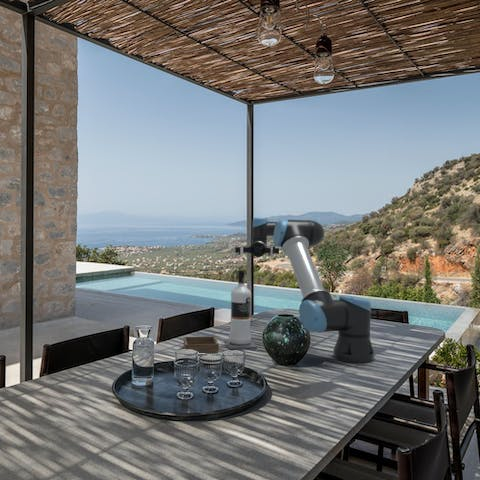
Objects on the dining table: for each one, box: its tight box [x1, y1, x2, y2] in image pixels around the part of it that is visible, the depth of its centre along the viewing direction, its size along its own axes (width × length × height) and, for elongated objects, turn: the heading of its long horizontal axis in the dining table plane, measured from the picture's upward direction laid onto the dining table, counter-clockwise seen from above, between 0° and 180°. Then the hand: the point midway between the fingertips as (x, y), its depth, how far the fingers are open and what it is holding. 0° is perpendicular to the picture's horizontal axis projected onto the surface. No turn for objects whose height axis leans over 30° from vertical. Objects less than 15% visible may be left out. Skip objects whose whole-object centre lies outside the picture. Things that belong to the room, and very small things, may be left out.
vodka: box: [228, 269, 252, 345], centre depth 191 cm, size 9×9×30 cm
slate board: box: [224, 338, 258, 351], centre depth 191 cm, size 14×11×1 cm
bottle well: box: [182, 335, 220, 353], centre depth 181 cm, size 13×13×4 cm
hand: (256, 251), depth 206 cm, fingers open, 13 cm apart
